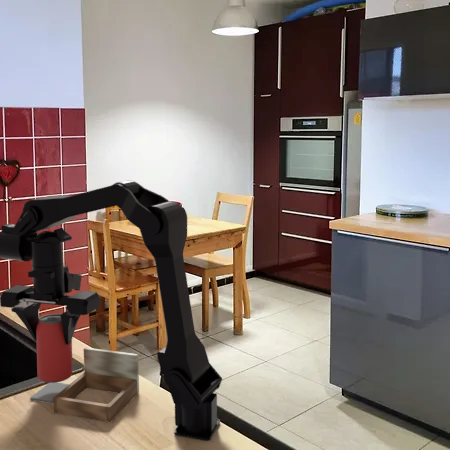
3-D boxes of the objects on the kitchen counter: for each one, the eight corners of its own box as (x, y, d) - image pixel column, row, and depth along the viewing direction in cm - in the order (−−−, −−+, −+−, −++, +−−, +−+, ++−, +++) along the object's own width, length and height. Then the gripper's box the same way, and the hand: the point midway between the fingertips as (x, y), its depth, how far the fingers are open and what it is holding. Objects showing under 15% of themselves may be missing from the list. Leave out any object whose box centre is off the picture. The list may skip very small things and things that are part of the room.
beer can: (60, 368, 118) (59, 311, 116) (79, 377, 113) (78, 317, 112) (30, 377, 113) (29, 317, 111) (49, 387, 108) (47, 324, 107)
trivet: (79, 388, 116) (79, 385, 116) (59, 404, 109) (59, 402, 109) (51, 383, 118) (50, 381, 118) (30, 399, 111) (30, 397, 111)
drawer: (139, 392, 114) (138, 354, 113) (110, 422, 103) (109, 381, 102) (86, 384, 118) (85, 347, 116) (53, 413, 106) (51, 372, 105)
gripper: (112, 256, 114) (115, 332, 116) (30, 251, 119) (35, 323, 122) (83, 271, 103) (87, 353, 106) (-6, 264, 108) (1, 342, 111)
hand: (52, 342), depth 112 cm, fingers closed on beer can, 6 cm apart
